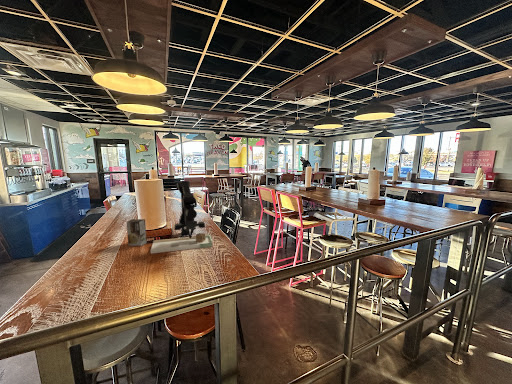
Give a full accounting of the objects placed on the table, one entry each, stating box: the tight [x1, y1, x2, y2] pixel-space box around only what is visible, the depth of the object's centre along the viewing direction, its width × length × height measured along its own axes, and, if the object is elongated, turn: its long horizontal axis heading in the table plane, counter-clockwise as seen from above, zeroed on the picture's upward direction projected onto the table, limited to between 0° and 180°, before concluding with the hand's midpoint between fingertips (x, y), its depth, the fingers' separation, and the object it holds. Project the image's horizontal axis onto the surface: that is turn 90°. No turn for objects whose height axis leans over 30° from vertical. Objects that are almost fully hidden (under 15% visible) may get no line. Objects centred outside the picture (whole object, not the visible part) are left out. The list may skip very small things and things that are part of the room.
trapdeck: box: [150, 234, 213, 255], centre depth 135 cm, size 12×36×4 cm, turn 109°
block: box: [195, 232, 206, 242], centre depth 138 cm, size 4×4×4 cm
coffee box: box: [126, 218, 148, 247], centre depth 137 cm, size 9×6×16 cm
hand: (190, 238), depth 138 cm, fingers closed
